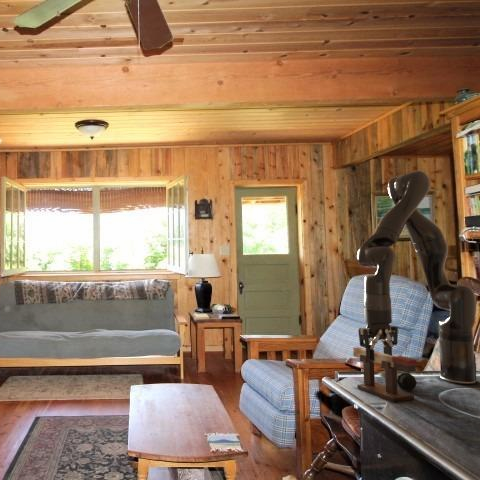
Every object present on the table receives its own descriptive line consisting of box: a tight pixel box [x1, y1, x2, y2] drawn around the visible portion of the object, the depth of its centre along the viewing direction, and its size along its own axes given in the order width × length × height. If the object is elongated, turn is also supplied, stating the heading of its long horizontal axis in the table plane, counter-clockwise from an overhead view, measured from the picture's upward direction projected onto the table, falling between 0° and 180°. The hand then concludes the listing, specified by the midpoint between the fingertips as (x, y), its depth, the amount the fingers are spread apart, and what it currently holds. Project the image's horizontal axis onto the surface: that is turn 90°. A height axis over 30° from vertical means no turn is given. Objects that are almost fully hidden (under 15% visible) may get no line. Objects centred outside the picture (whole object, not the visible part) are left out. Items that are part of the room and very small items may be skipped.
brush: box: [352, 346, 418, 373], centre depth 130 cm, size 20×4×3 cm, turn 16°
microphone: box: [380, 371, 418, 392], centre depth 139 cm, size 6×6×20 cm
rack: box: [356, 355, 415, 403], centre depth 130 cm, size 13×8×11 cm, turn 16°
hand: (379, 359), depth 131 cm, fingers open, 6 cm apart
